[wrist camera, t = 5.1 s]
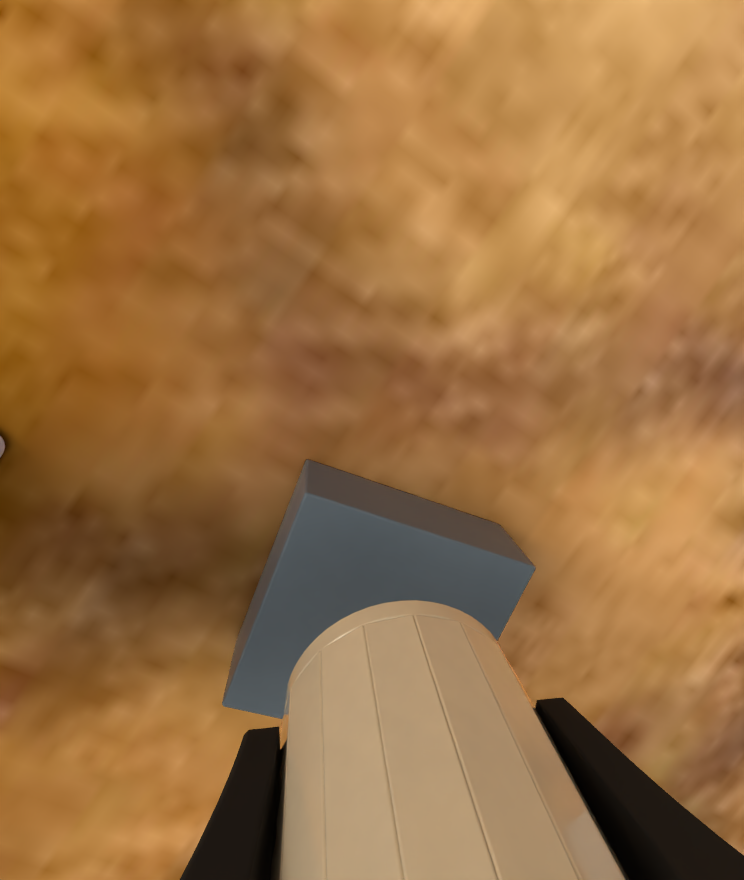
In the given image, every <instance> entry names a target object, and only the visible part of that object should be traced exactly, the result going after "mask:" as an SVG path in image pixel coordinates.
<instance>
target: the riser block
mask: <svg viewBox="0 0 744 880" xmlns="http://www.w3.org/2000/svg"><path fill="white" fill-rule="evenodd" d="M534 571H535V566H534V565H533V563H532V562H531V561H530V560H529V559H528V557H527V556H526V555H525V554H524V553H523V552H522V550H521V549H520V548H519V547H518V546H517V544H516V543H515V542H514V541H513V540H512V538H511V537H510V536H509V535H508V534H507V533H506V531H505V530H504V529H503V528H502V527H501V525H499V524H497V523H494V522H491V521H488V520H485V519H482V518H479V517H476V516H473V515H470V514H467V513H464V512H461V511H458V510H455V509H453V508H450V507H447V506H444V505H441V504H438V503H435V502H432V501H429V500H426V499H423V498H420V497H417V496H414V495H411V494H408V493H406V492H403V491H400V490H397V489H394V488H391V487H388V486H385V485H382V484H379V483H376V482H373V481H370V480H367V479H364V478H361V477H359V476H356V475H353V474H350V473H347V472H344V471H341V470H338V469H335V468H332V467H329V466H326V465H323V464H320V463H317V462H314V461H312V460H306V461H305V463H304V466H303V469H302V471H301V474H300V476H299V479H298V482H297V484H296V487H295V489H294V492H293V495H292V497H291V500H290V502H289V505H288V507H287V510H286V513H285V515H284V518H283V520H282V523H281V526H280V528H279V531H278V533H277V536H276V539H275V541H274V544H273V546H272V549H271V552H270V554H269V557H268V559H267V562H266V565H265V567H264V570H263V572H262V575H261V577H260V580H259V583H258V585H257V588H256V590H255V593H254V596H253V598H252V601H251V603H250V606H249V609H248V611H247V614H246V616H245V619H244V622H243V624H242V627H241V629H240V632H239V635H238V637H237V640H236V644H235V648H234V653H233V657H232V661H231V666H230V670H229V675H228V679H227V684H226V688H225V693H224V697H223V702H222V705H223V706H225V707H229V708H234V709H238V710H243V711H248V712H252V713H257V714H261V715H266V716H271V717H275V718H280V719H283V716H284V704H285V695H286V689H287V685H288V682H289V679H290V676H291V673H292V671H293V669H294V667H295V665H296V663H297V661H298V660H299V659H300V657H301V656H302V654H303V653H304V651H305V650H306V649H307V647H308V646H309V645H310V644H311V643H312V642H313V641H314V640H315V639H316V638H317V637H318V636H319V635H320V634H321V633H322V632H324V631H325V630H326V629H327V628H328V627H330V626H331V625H333V624H334V623H336V622H337V621H339V620H340V619H342V618H344V617H346V616H348V615H350V614H352V613H354V612H356V611H359V610H362V609H364V608H367V607H370V606H374V605H377V604H381V603H386V602H393V601H400V600H420V601H430V602H435V603H440V604H444V605H447V606H450V607H453V608H456V609H458V610H460V611H462V612H464V613H466V614H468V615H470V616H471V617H473V618H474V619H476V620H477V621H478V622H480V623H481V624H482V625H483V626H484V627H485V628H486V629H487V630H489V631H490V632H491V634H492V635H493V636H494V638H495V639H496V640H498V639H499V637H500V635H501V633H502V631H503V629H504V627H505V625H506V623H507V622H508V620H509V618H510V616H511V614H512V612H513V610H514V608H515V607H516V605H517V603H518V601H519V599H520V597H521V595H522V593H523V591H524V590H525V588H526V586H527V584H528V582H529V580H530V578H531V576H532V574H533V573H534Z"/></svg>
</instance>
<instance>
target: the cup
mask: <svg viewBox="0 0 744 880" xmlns="http://www.w3.org/2000/svg"><path fill="white" fill-rule="evenodd" d="M280 749H281V750H280V764H279V778H278V793H277V804H276V813H275V821H274V830H273V842H272V856H271V869H270V880H629V878H628V876H627V874H626V873H625V871H624V869H623V867H622V865H621V864H620V862H619V860H618V858H617V856H616V854H615V853H614V851H613V849H612V847H611V845H610V843H609V842H608V840H607V838H606V836H605V834H604V833H603V831H602V829H601V827H600V825H599V823H598V822H597V820H596V818H595V816H594V814H593V813H592V811H591V809H590V807H589V805H588V803H587V802H586V800H585V798H584V796H583V794H582V792H581V791H580V789H579V787H578V785H577V783H576V782H575V780H574V778H573V776H572V774H571V772H570V771H569V769H568V767H567V765H566V763H565V762H564V760H563V758H562V756H561V754H560V752H559V751H558V749H557V747H556V745H555V743H554V741H553V740H552V738H551V736H550V734H549V732H548V731H547V729H546V727H545V725H544V723H543V721H542V720H541V718H540V716H539V714H538V712H537V711H536V709H535V707H534V705H533V703H532V701H531V700H530V698H529V696H528V694H527V692H526V690H525V689H524V687H523V685H522V683H521V681H520V680H519V678H518V676H517V674H516V673H515V671H514V669H513V668H512V666H511V665H510V663H509V661H508V660H507V658H506V656H505V654H504V652H503V651H502V649H501V647H500V645H499V643H498V642H497V640H496V639H495V638H494V636H493V635H492V634H491V632H490V631H489V630H487V629H486V628H485V627H484V626H483V625H482V624H481V623H480V622H478V621H477V620H476V619H474V618H473V617H471V616H470V615H468V614H466V613H464V612H462V611H460V610H458V609H456V608H453V607H450V606H447V605H444V604H440V603H435V602H430V601H420V600H400V601H393V602H386V603H381V604H377V605H374V606H370V607H367V608H364V609H362V610H359V611H356V612H354V613H352V614H350V615H348V616H346V617H344V618H342V619H340V620H339V621H337V622H336V623H334V624H333V625H331V626H330V627H328V628H327V629H326V630H325V631H324V632H322V633H321V634H320V635H319V636H318V637H317V638H316V639H315V640H314V641H313V642H312V643H311V644H310V645H309V646H308V647H307V649H306V650H305V651H304V653H303V654H302V656H301V657H300V659H299V660H298V661H297V663H296V665H295V667H294V669H293V671H292V673H291V676H290V679H289V682H288V685H287V689H286V695H285V704H284V716H283V720H282V724H281V734H280Z"/></svg>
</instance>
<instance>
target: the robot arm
mask: <svg viewBox="0 0 744 880" xmlns="http://www.w3.org/2000/svg"><path fill="white" fill-rule="evenodd" d="M4 449H5V443H4V440H3V439H2V437H1V436H0V457H1V456H2V454H3V453H4ZM536 711H537V712H538V714H539V716H540V718H541V720H542V721H543V723H544V725H545V727H546V729H547V731H548V732H549V734H550V736H551V738H552V740H553V741H554V743H555V745H556V747H557V749H558V751H559V752H560V754H561V756H562V758H563V760H564V762H565V763H566V765H567V767H568V769H569V771H570V772H571V774H572V776H573V778H574V780H575V782H576V783H577V785H578V787H579V789H580V791H581V792H582V794H583V796H584V798H585V800H586V802H587V803H588V805H589V807H590V809H591V811H592V813H593V814H594V816H595V818H596V820H597V822H598V823H599V825H600V827H601V829H602V831H603V833H604V834H605V836H606V838H607V840H608V842H609V843H610V845H611V847H612V849H613V851H614V853H615V854H616V856H617V858H618V860H619V862H620V864H621V865H622V867H623V869H624V871H625V873H626V874H627V876H628V878H629V880H744V855H742V854H741V853H740V852H738V851H737V850H736V849H735V848H733V847H732V846H731V845H729V844H728V843H727V842H726V841H724V840H723V839H722V838H721V837H719V836H718V835H717V834H716V833H714V832H713V831H712V830H711V829H710V828H708V827H707V826H706V825H705V824H703V823H702V822H701V821H700V820H699V819H697V818H696V817H695V816H694V815H692V814H691V813H690V812H689V811H688V810H686V809H685V808H684V807H683V806H682V805H680V804H679V803H678V802H677V801H676V800H675V799H673V798H672V797H671V796H670V795H669V794H668V793H666V792H665V791H664V790H663V789H662V788H661V787H660V786H658V785H657V784H656V783H655V782H654V781H653V780H652V779H651V778H649V777H648V776H647V775H646V774H645V773H644V772H643V771H642V770H640V769H639V768H638V767H637V766H636V765H635V764H634V763H633V762H632V761H631V760H629V759H628V758H627V757H626V756H625V755H624V754H623V753H622V752H621V751H620V750H619V749H617V748H616V747H615V746H614V745H613V744H612V743H611V742H610V741H609V740H608V739H607V738H606V737H605V736H603V735H602V734H601V733H600V732H599V731H598V730H597V729H596V728H595V727H594V726H593V725H592V724H591V723H590V722H589V721H587V720H586V719H585V718H584V717H583V716H582V715H581V714H580V713H579V712H578V711H577V710H576V709H575V708H574V707H573V706H572V705H570V704H569V703H568V702H567V701H566V700H565V699H564V698H554V699H544V700H537V703H536ZM280 750H281V749H280V736H279V727H272V728H263V729H253V730H249V731H247V732H246V733H245V734H244V736H243V739H242V742H241V746H240V749H239V751H238V754H237V757H236V759H235V762H234V765H233V767H232V770H231V772H230V775H229V777H228V780H227V782H226V784H225V787H224V789H223V791H222V794H221V796H220V798H219V801H218V803H217V805H216V807H215V809H214V811H213V813H212V816H211V818H210V820H209V822H208V824H207V826H206V828H205V831H204V833H203V835H202V837H201V839H200V841H199V843H198V845H197V847H196V849H195V851H194V853H193V855H192V857H191V859H190V861H189V863H188V865H187V867H186V869H185V871H184V873H183V874H182V876H181V878H180V880H270V869H271V856H272V842H273V830H274V821H275V813H276V804H277V793H278V778H279V764H280Z"/></svg>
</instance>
